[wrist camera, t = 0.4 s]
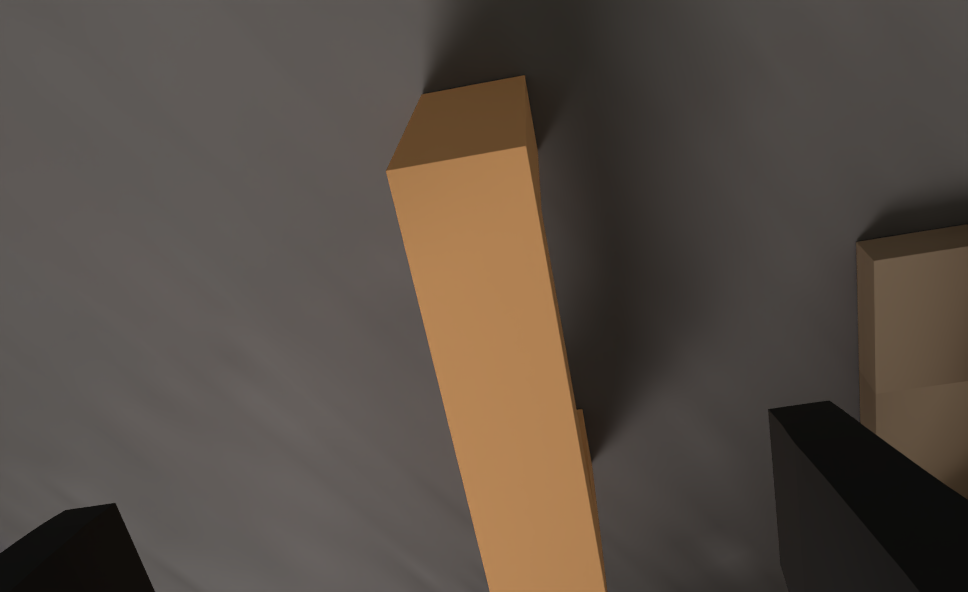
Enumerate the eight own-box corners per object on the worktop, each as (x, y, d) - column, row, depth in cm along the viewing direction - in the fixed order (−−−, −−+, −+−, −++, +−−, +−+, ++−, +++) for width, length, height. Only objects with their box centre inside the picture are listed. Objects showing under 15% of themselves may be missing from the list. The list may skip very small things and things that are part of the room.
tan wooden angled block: (592, 463, 21) (611, 628, 16) (506, 475, 21) (502, 641, 16) (524, 75, 17) (525, 145, 12) (421, 94, 17) (386, 170, 13)
